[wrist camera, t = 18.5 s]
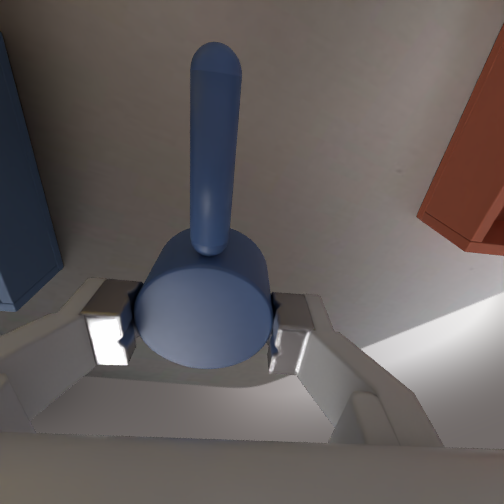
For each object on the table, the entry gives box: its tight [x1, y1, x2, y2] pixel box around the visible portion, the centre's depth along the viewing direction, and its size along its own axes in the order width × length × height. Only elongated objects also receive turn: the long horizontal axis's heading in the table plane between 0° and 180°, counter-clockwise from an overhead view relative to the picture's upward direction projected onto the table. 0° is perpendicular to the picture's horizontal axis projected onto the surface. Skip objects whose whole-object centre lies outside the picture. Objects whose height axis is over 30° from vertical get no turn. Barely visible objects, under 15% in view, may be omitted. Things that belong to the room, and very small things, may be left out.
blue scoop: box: [134, 42, 274, 369], centre depth 8 cm, size 9×4×3 cm, turn 173°
